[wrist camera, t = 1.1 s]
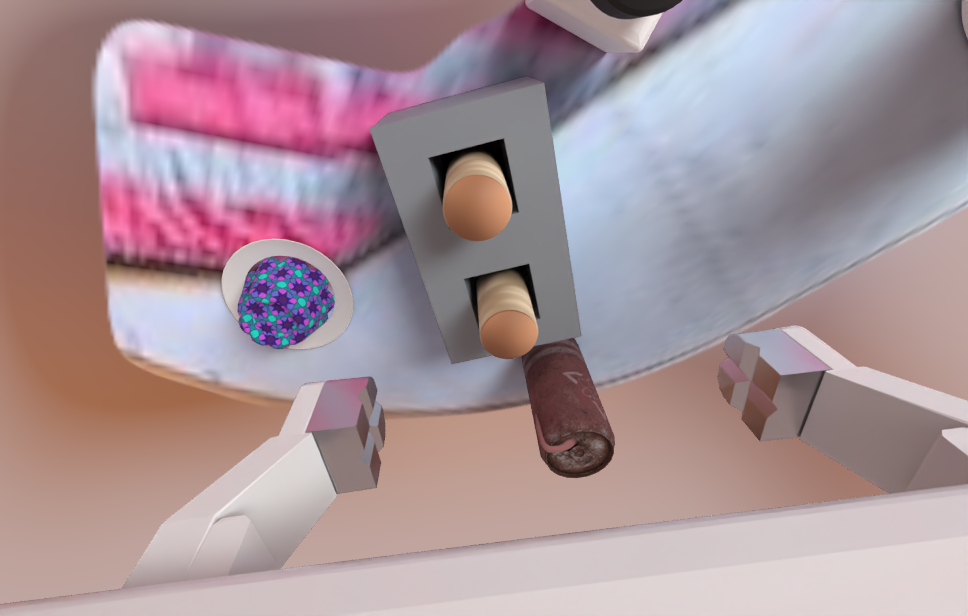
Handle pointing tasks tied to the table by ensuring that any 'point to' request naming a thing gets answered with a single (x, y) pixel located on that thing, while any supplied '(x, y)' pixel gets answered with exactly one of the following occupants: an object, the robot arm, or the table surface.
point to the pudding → (286, 295)
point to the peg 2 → (505, 314)
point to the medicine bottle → (606, 20)
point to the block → (534, 219)
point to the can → (567, 410)
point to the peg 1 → (476, 195)
